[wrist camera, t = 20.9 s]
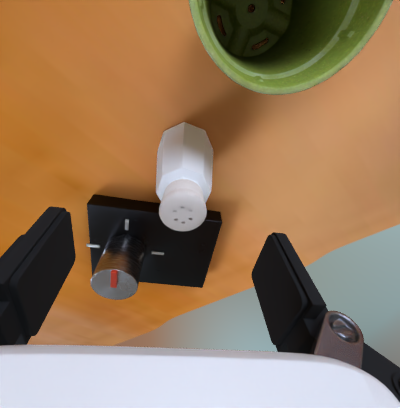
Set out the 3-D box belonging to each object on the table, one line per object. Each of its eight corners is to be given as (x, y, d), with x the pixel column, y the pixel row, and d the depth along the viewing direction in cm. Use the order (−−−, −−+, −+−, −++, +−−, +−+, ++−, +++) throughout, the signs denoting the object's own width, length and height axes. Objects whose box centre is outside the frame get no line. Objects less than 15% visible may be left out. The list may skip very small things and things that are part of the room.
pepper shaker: (212, 174, 24) (227, 248, 15) (160, 176, 24) (142, 251, 15) (213, 120, 21) (232, 170, 12) (154, 122, 21) (126, 173, 12)
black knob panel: (95, 265, 31) (89, 278, 29) (90, 193, 25) (82, 204, 23) (201, 275, 33) (202, 289, 31) (220, 211, 27) (222, 223, 25)
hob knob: (143, 264, 28) (135, 304, 24) (106, 260, 27) (89, 300, 23) (147, 237, 26) (138, 275, 21) (106, 231, 25) (88, 269, 21)
